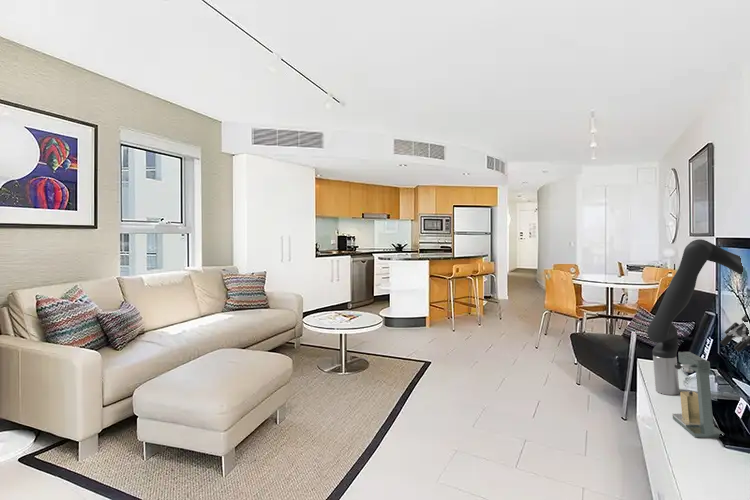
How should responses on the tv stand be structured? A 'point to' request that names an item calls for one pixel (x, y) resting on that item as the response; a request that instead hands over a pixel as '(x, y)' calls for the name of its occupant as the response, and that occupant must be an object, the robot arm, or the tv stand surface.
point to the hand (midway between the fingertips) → (729, 347)
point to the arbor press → (704, 397)
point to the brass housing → (690, 406)
